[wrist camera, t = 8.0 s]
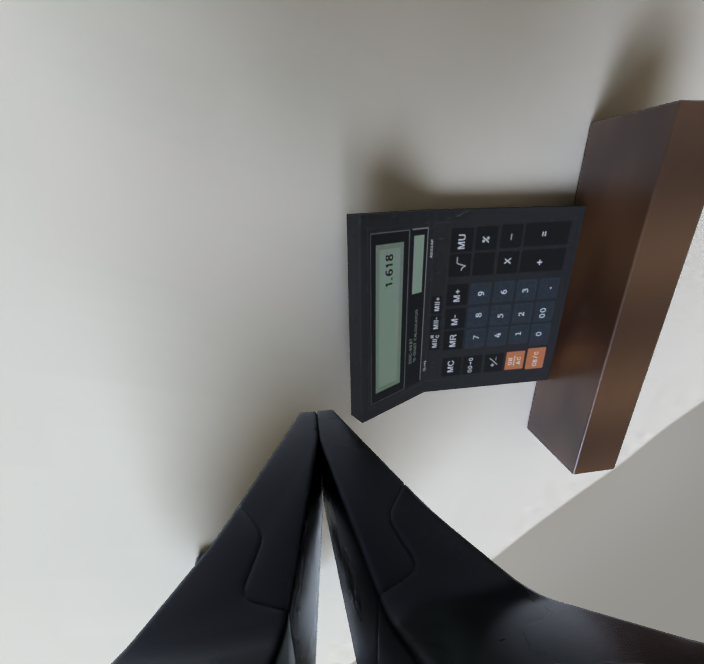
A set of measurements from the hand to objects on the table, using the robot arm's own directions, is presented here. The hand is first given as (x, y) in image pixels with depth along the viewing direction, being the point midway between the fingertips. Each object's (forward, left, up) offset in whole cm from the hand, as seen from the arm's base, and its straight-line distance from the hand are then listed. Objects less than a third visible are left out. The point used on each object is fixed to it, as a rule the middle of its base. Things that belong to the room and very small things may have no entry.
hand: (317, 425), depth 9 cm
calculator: (0, -8, -9) cm, 12 cm away
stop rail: (0, -15, -9) cm, 17 cm away
